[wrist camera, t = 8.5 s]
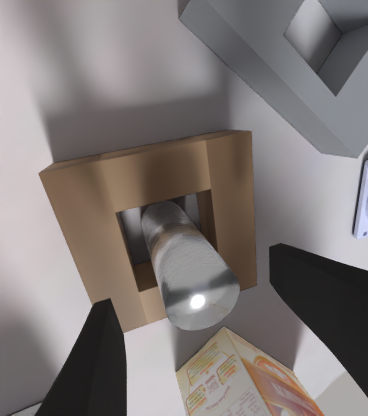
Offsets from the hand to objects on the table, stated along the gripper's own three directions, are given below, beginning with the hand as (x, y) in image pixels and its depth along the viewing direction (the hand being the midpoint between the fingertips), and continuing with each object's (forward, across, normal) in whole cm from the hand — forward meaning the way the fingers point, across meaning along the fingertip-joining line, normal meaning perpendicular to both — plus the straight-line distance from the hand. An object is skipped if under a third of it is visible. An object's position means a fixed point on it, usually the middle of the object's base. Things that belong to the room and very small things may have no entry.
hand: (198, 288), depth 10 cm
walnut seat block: (+7, 0, 0) cm, 7 cm away
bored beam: (+7, -11, -10) cm, 16 cm away
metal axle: (+7, 0, 0) cm, 7 cm away
